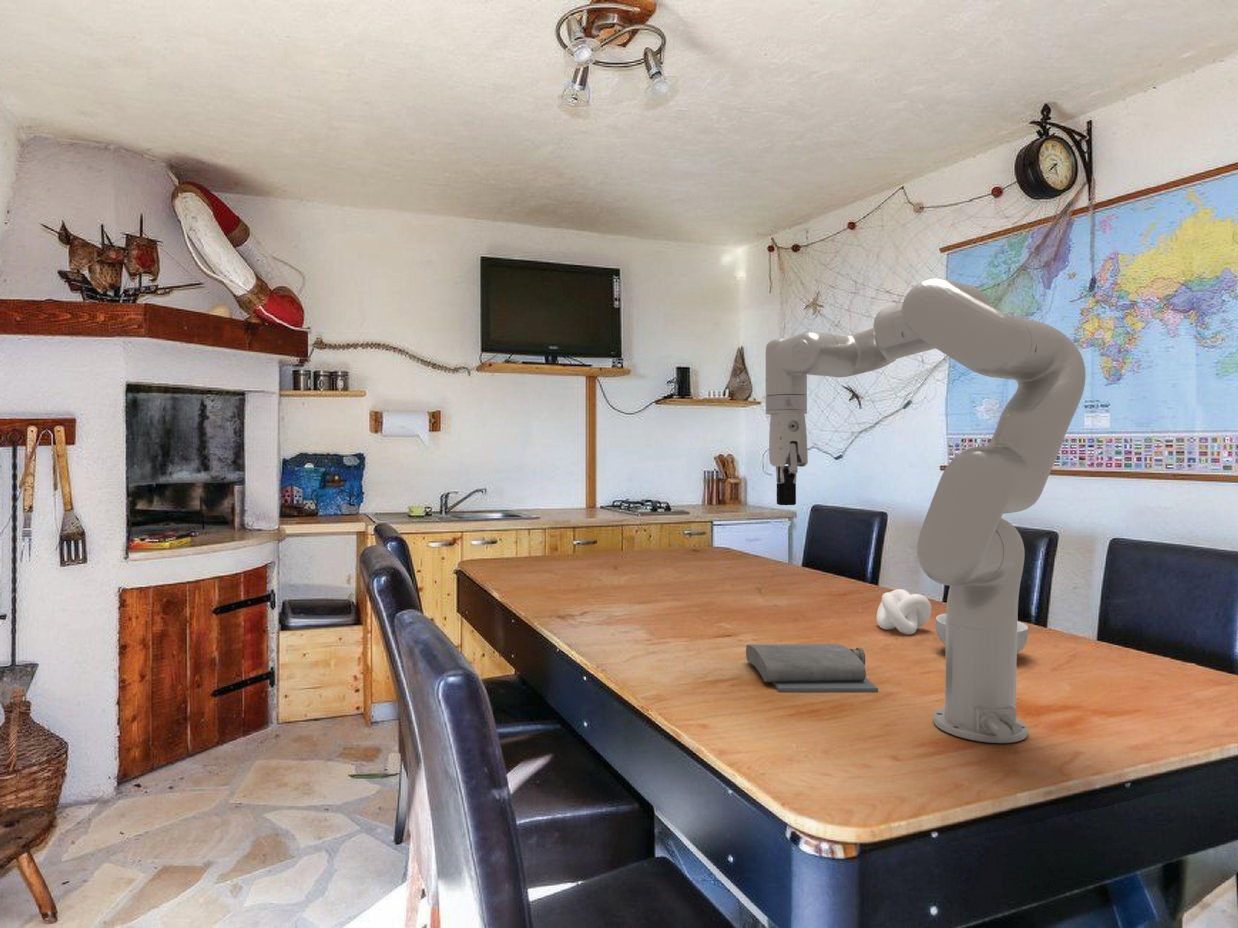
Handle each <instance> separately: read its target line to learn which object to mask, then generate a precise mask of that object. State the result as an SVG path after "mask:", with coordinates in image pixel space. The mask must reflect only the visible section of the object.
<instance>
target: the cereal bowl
mask: <svg viewBox="0 0 1238 928" xmlns="http://www.w3.org/2000/svg"><path fill="white" fill-rule="evenodd" d="M935 632H936V635H937V637H938V639H939V640H940V641H941V642H942V644H943V645H945V646H946V613H941V614H939V615H937V616H936V617H935ZM1028 635H1029V627H1028V625H1027V624H1026V623H1023V622H1020V621H1018V624H1017V654H1019V652H1021V651H1022V650H1023V649H1024V648H1025V647H1026V644H1027V640H1028V637H1029V636H1028Z"/></svg>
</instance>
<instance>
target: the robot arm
mask: <svg viewBox="0 0 1238 928" xmlns="http://www.w3.org/2000/svg"><path fill="white" fill-rule="evenodd" d="M872 326H873V327H872V328H870V329H867V330H863V331H860V332H857V333H852V334H847V335H840V334H833V333H826V332H820V331H819V332H818V331H805V332H802V333H799V334H796V335H794V336H791V337H786V338H785V337H784V338H783V337H782V338H777V339H776V338H775V339H772V340H770V341H769V342H767V344H766V346H765V415H769V417H770V418H769V432H768V433H769V435H768V436H769V439H768V440H769V441H768V456H769V457H768V458H769V464H770V465H771V466H773V467H775V473H776V504H777V506H795V505H796V504H797V473H798V472H799V471H798V469H799V467H800V468H801V467H803V468H804V467H806V466H807V465H808V461H809V459H808V456H809V455H808V435H807V423H806V414H808V375H809V376H818V377H820V376H823V377H833V378H848V377H852V376H856V375H857V376H858V375H860V374H864V373H869V372H873V371H877V370H879V369H882V368H884V367H886V366H888V365H890V364H892V363H894V362H895V361H896V360H898V359H901V358H904V357H908V356H912V355H916V354H920V353H923V352H927V351H928V352H929V351H931V350H935V349H936V350H937V351H939V352H941V353H942V354H944V355H945V356H948V357H949V358H951V359H952V360H954V361H955V362H957V363H958V364H960V365H962V366H963V367H965V368H967V369H968V370H970V371H972V372H974V373H976V374H979V375H981V376H984V377H989V378H996V379H1002V380H1003V379H1004V380H1012V381H1013V380H1014V381H1016V383H1017V389H1016V390H1015V393H1013V395H1012V397H1011V398H1010V399H1009V401H1008V402H1007V403H1006V405H1005V407H1004V408H1003V410H1002V413H1001V414H1000V417H999V419H998V423H997V425H996V428H995V430H994V433H993V435H992V437H991V438H990V439H991V440H990V441H989V442H988V443H987V445H982V446H974V447H971V448H967V449H965V450H963V451H961V452H960V453H958V454H957V455H955V456H954V457H953V458H952V459H951V461H950V462H949V463H948V464H947V465H946V468H945V469H944V470H943V473H942V474H941V477H940V479H939V481H938V484H937V487H936V488H935V492H934V495H933V496H932V499H931V502H930V505H929V508H928V509H927V513H926V515H925V517H924V521H923V523H922V526H921V528H920V531H919V535H918V538H917V539H918V540H917V542H916V543H917V544H916V555H917V556H916V557H917V561H918V563H919V566H920V568H921V570H922V572H923V573H924V574H925V575H926V576H927V577H928V578H929V579H931V580H932V581H934V582H935V583H937V584H940V585H944V586H949V589H948V593H947V594H948V595H947V600H946V645H945V662H944V663H945V664H944V667H945V671H944V673H945V674H944V675H945V676H944V679H945V680H944V707H942V708H939V709H937V710H936V711H934V713H933V723H934V724H935V726H936V727H937V728H939V729H940V730H942V731H943V732H945V733H948V734H949V735H952V736H955V737H959V738H961V739H966V740H970V741H974V742H982V743H989V744H991V743H992V744H1011V743H1018V742H1020V741H1022V740H1025V739H1026V738H1027V737H1028V731H1029V729H1028V725H1027V724H1026V723H1025V722H1024V721H1022V720H1021V719H1020V718H1018V717H1017V670H1018V669H1017V666H1018V665H1017V662H1018V661H1017V660H1018V656H1017V655H1018V653H1017V624H1018V622H1019V620H1018V613H1019V612H1018V611H1019V597H1020V596H1019V595H1020V588H1021V581H1022V576H1023V572H1024V566H1025V565H1024V563H1025V546H1024V541H1023V538H1022V536H1021V534H1020V532H1019V531H1018V529H1017V528H1016V527H1015V526H1014V525H1013V524H1012V523H1011V522H1009V521H1008V520H1007V519H1004V518H1002V517H1003V514H1013V513H1018V512H1022V511H1025V510H1028V509H1029V508H1031V507H1032V506H1033V505H1034V506H1035V504H1036V503H1037V501H1038V500H1039V499H1040V498H1041V495H1042V493H1043V491H1044V488H1045V486H1046V484H1047V481H1048V479H1049V476H1050V474H1051V471H1052V469H1053V466H1054V465H1055V462H1056V460H1057V457H1058V455H1059V452H1060V450H1061V448H1062V445H1063V442H1064V439H1065V438H1066V434H1067V432H1068V429H1069V427H1070V425H1071V423H1072V421H1073V418H1074V416H1075V414H1076V411H1077V409H1078V407H1079V404H1080V402H1081V399H1082V398H1083V394H1084V390H1085V385H1086V378H1087V376H1086V375H1087V373H1086V366H1085V362H1084V358H1083V355H1082V353H1081V351H1079V349H1078V347H1077V346H1076V344H1075V343H1074V342H1073V341H1072V340H1071V339H1070V338H1069V337H1068V336H1067V335H1066V334H1064V333H1063V332H1062V331H1060V330H1059V329H1058V328H1055V327H1053V326H1052V325H1049V324H1047V323H1043V322H1040V321H1036V320H1033V319H1029V318H1028V319H1027V318H1023V317H1018V316H1015V315H1010V314H1006V313H1005V312H1003V311H1000V310H998V309H997V308H995V307H992V306H991V305H990V302H989V299H988V298H987V295H985V294H984V292H982V291H981V290H980V289H978V288H977V287H975V286H973V285H970V284H966V283H962V282H958V281H955V280H951V279H947V278H943V277H935V278H928V279H925V280H922V281H920V282H919V283H917V284H916V285H914V286H913V287H911V288H910V290H909V291H908V292H907V293H906V295H905V297H904V299H903V302H898V303H896V304H892V305H890V306H889V305H888V306H887V307H883V308H882V309H880V310H879V311H878V312H877V313H876V316H875V318H874V320H873V325H872Z"/></svg>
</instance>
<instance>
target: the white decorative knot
mask: <svg viewBox="0 0 1238 928" xmlns="http://www.w3.org/2000/svg"><path fill="white" fill-rule="evenodd" d="M931 615H932V605H931V602H930V600H929V599H928V598H927V597H926V596H925V595H922V594H919V593H910V592H908V591H907V590H906V589H902V588H897V589H894V590H892V591H888V592H885V593H882V595H881V602H880V603H879V605H878V608H877V611H876V617H875V618H876V623H877V625H878V627H880V628H881V629H883V630H886V631H888V630H890V631H891V630H894V629H895V628H896V629H897V630H898V631H899V633H901V634H904V635H907V636H910V635H914V633H916V632H917V630H918V629H919V628H921V627H923V626H924V625H925V624H926V623H927V622H928V621H929V620H930V617H931Z"/></svg>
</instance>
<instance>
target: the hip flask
mask: <svg viewBox="0 0 1238 928" xmlns="http://www.w3.org/2000/svg"><path fill="white" fill-rule="evenodd" d="M745 658H746V661H747V662H748V663H751V664H752V665H753V666H754V667H755V668H756V670H757V671H758V672H759V674H760V676H761V678H762V680H763V682H764V683H772V682H811V681H864V680H865V677H866V676H867V672H866V671H867V670H866V667H865V665H866V654H865V650H864V649H863V648H862V647H856V648H848V647H847V646H845V645H843V644H839V643H801V644H800V643H799V644H798V643H794V644H793V643H789V644H784V643H783V644H781V643H780V644H778V643H777V644H776V643H775V644H773V643H772V644H766V643H765V644H747V645H746V647H745ZM866 678H867V677H866Z"/></svg>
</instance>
